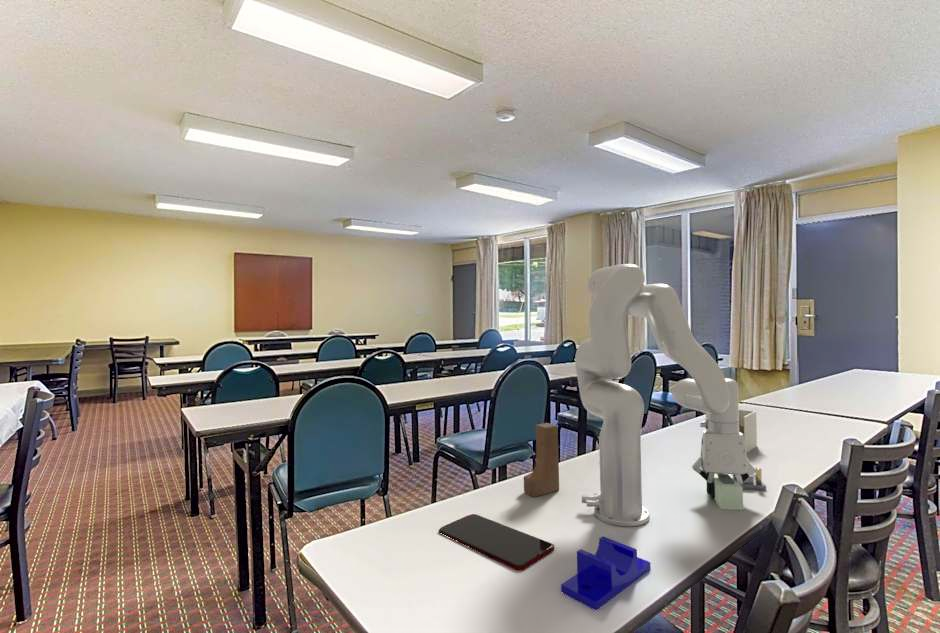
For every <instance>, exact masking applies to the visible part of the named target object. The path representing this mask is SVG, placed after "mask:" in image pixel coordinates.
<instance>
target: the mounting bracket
mask: <svg viewBox="0 0 940 633" xmlns="http://www.w3.org/2000/svg"><path fill="white" fill-rule="evenodd" d="M576 567H577V568H576V569H577V570H576V572H577V573H576V574H575V575H573V576H572V577H571V578H569V579H567V580H566V581H564V582H563V583H561V584H560V591H561V592H563V593H564V595H565V594H566V595H565V596H567V595H568V596H567V597H569V596H570V597H569V598H571V597H572V598H571V599H573V600H574V601H576V600H577V601H576V602H578V601H579V602H578V603H580V602H581V604H582V603H583V604H582V605H584V604H585V605H584V606H586V605H587V606H586V607H588V606H589V607H588V608H590V607H591V608H590V609H592V608H593V609H595V610H597V609H598V610H599V609H601V608H602V607H603V606H604V605H606V604H608V603H609V602H610V601H611V600H612V599H614V598H615V597H616V596H617V594H618V595H620V593H622V592H623V591H624V590H626V589H627V588H628V587H630V586H631V585H632V584H634V583H635V582H636V581H637V580H639V579H640V578H642V577H643V576H644V575H645V574H646V573H648V572H649V571H650V570H651V562H650V561H648V560H646V559H644V558H641V557H639V556H638V550H637V548H635V547H631V546H629V545H627V544H624V543H621V542H619V541H617V540H614V539H611V538H609V537H605V536H601V537H599V540H598V546H597V550H596V551H595V554H593V553H591V552H589V551H586V550H584V549H582V548H580V549H578V550H577V551H576ZM561 592H560V593H561ZM563 593H562V594H563ZM601 606H602V607H601ZM600 607H601V608H600ZM593 609H592V610H593ZM595 610H594V611H595ZM598 610H597V611H598Z"/></svg>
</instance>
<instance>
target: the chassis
mask: <svg viewBox="0 0 940 633" xmlns="http://www.w3.org/2000/svg"><path fill="white" fill-rule="evenodd" d="M700 468H701V469H702V470H703V471H704V472H705V473H706V471H705V469H704V468H703V466H701V467H700ZM754 469H755V470H756V472H755V473H754V474H752V475H751V476H749V477H748V478H747V479H746V480H745V481H744V482H743V484H742V485H741V486H742V488H743V490H755V491H767V485H766V484H765V483H764V482H763V480H762V468H760V467H754ZM731 475H732V476H733V477H734V475H733V474H731Z"/></svg>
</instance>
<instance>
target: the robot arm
mask: <svg viewBox="0 0 940 633" xmlns="http://www.w3.org/2000/svg"><path fill="white" fill-rule="evenodd" d="M645 278H646V277H645V274H644V271H643V270H642V268H641V267H640V266H639V265H637V264H632V263H622V264H621V263H620V264H615V265H610V266H605V267H601V268H598V269H596V270H594V271H593V272H592V273H591V274H590V276H589V278H588V280H587V289H588V292H589V294H590V295H591V296H592V298H594V299H592V302H591V304H590V309H589V314H588V324H589V325H588V326H589V336H590V337H589V338H586V339H584V340H583V341H581V343H580V344H579V345H578V347H577V349H576V352H575V358H574V363H575V369H576V370H575V371H576V378H577V382H578V383H577V384H578V389H579V396H580V400H581V403H582V406H583V408H584V409H585V410H586V411H587V412H588V413H589V414H591V415H593V416H595V417H597V418H599V419H600V418H601V419H602V420H603V422H602V426H601V429H600V433H599V437H598V449H599V451H598V452H599V455H598V456H599V487H600V490H598V494H596V493H595V494H594V495H590V494H589V495H588V494H581V503H582V504H586V507H594V510H593V511H594V516H595V517H596V518H597V519H599V520H600V521H602V522H603V523H606V524H609V525H613V526H619V527H636V526H641V525H644V524H646V523H647V522H648V521H649V520H650V512H649V510H648V509H647V508H646V507H645V506H643V492H642V491H643V490H642V484H643V483H642V482H643V481H642V480H643V479H642V453H641V452H642V448H641V446H642V445H641V441H642V439H641V438H642V435H641V434H642V424H643V420H644V419H643V418H644V414H645V403H644V400H643V398H642V396H641V394H640V393H639V392H638V390H636V389H635V388H633V387H631V386H630V385H627V384H624V383H619V382H616V381H613V380H619V379H623V378H625V377H626V376H628V375H629V373H630V372H631V368H632V354H631V348H630V341H629V336H628V328H627V326H628V325H627V315H628V316H632V317H634V318H642V319H643V318H646V320H647V323H648V325H649V327H650V330H651V334H652V335H653V338H654V340H655V343H656V345H657V348H658V350H659V351H660V352H661V353H662V354H663V355H664V356H665V357H667V358H668V359H670V360H672V361H673V362H674V363H676V364H678V365H679V366H681V367H682V368H683V369H684V370H685V371H686V372H687V373H688V374H689V375H690V377H691V378H684V379H680V380H678V381H677V382H675V383H674V385H673V387H672V389H671V390H672V391H671V395H672V399H673V400H674V402H675V403H676V404H678V406H679V405H680V406H681V407H683V408H686V409H690V410H693V411H698V412H701V413H704V414H705V418H704V421H700V422H699V427H700V428H704V429H703V431H702V436H701V437H702V438H701V444H700V456H699V458H698V459H697V460H696V461H695V462H694V463H693V464H692V466H691V468H692V470H693V471H694V472H696V473H697V474H698V475H700V476H701V477H702V478H703V479H704V480H705V481H706V493H707V495H709V496H710V498H711V499H712V500H714V498H715V484H714V483H713V478H714V475H715V473H719V474H733V475H734V478H735V480H736V481H737V482H738V483H739V484H740V485H742V484H743V482H744V481H745V480H746V479H747V478H748V477H749V476H751V475H752V474H755V472H756V470H755V467H754V466H753V465H752V464H751V463H750V462H749V461H748V455H747V453H748V452H747V453H746V446H745V440H744V436H743V434H742V433H741V432H739V408H740V407H739V403H740V402H739V385H738V382H737V381H736V380H735V379H732V378H728V377H725V375H724V373H723V371H722V369H721V367H720V365H719V364H718V363H717V361H716V360H715V359H714V358H713V357H712V356H711V355H710V353H709V352H708V351H707V350H706V349H705V348H704V347H703V346H702V345H701V344H700V343H699V342H698V341H697V340H696V339H695V337H694V335H693V333H692V330H691V327H690V325H689V322H688V319H687V317H686V314H685V312H684V309H683V307H682V304H681V302H680V299H679V297H678V294H677V292H676V290H675V289H674V288H673V287H672V286H670V285H668V284H665V283H649V284H645V280H646V279H645ZM701 466H703V468H704V469H705V471H706V472H705V471H704V469H703V468H702V467H701Z"/></svg>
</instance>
